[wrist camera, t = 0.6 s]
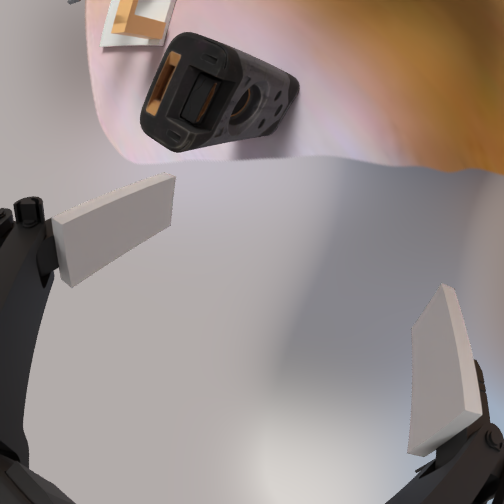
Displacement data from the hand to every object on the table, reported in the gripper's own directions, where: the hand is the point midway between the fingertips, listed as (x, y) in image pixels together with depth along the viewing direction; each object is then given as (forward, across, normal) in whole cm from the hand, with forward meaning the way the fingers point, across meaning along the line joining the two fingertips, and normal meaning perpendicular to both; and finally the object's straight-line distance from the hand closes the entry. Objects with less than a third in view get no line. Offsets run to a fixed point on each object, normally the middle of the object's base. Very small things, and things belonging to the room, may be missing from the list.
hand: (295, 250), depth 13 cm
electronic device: (+27, -12, +5) cm, 30 cm away
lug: (+26, -33, +16) cm, 45 cm away
